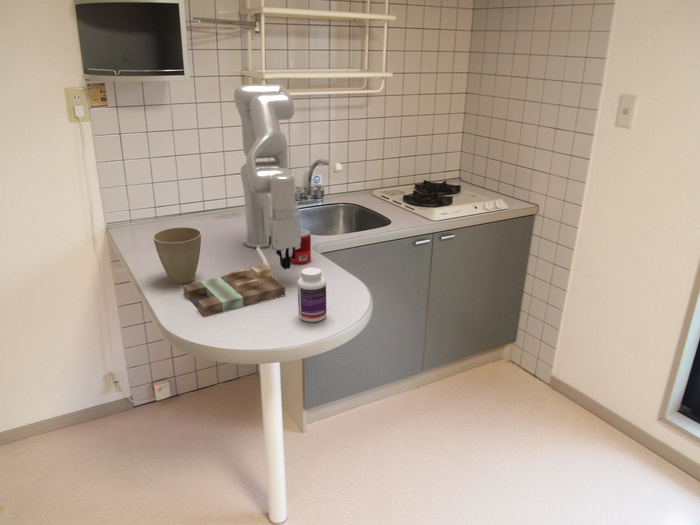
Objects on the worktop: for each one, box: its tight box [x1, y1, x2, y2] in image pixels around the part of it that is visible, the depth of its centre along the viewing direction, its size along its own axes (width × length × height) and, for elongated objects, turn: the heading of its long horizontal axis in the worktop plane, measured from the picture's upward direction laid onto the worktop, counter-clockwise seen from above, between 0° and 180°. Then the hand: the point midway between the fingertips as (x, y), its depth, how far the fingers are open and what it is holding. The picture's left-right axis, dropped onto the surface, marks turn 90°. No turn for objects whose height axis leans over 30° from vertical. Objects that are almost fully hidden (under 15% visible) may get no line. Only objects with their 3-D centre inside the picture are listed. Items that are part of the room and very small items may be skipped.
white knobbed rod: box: [255, 247, 274, 276], centre depth 204 cm, size 28×4×3 cm, turn 18°
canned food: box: [291, 228, 312, 265], centre depth 203 cm, size 8×8×11 cm
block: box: [250, 263, 273, 284], centre depth 181 cm, size 5×5×4 cm
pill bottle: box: [297, 267, 327, 323], centre depth 162 cm, size 8×8×14 cm
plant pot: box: [152, 226, 202, 285], centre depth 185 cm, size 15×15×16 cm
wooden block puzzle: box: [182, 269, 286, 317], centre depth 177 cm, size 26×18×6 cm
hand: (285, 267), depth 185 cm, fingers closed
